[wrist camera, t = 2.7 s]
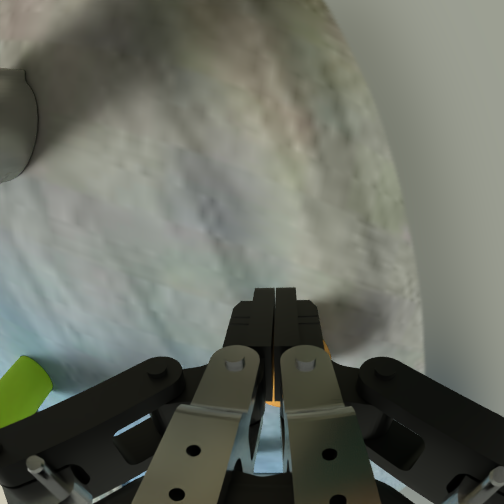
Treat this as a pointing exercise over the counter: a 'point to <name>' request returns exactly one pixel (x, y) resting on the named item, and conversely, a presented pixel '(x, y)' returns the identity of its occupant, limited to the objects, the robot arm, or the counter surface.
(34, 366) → the soap dispenser
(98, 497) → the seated beast figurine
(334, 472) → the robot arm
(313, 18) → the counter surface
